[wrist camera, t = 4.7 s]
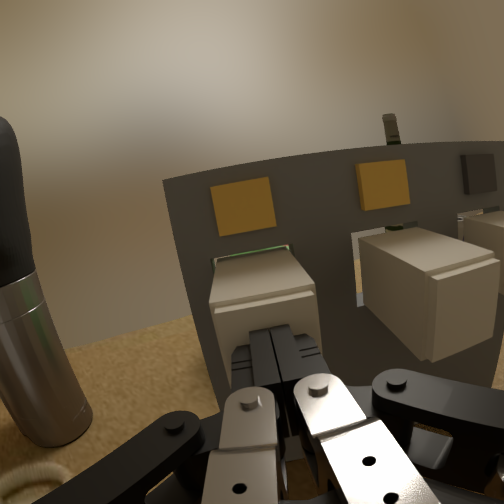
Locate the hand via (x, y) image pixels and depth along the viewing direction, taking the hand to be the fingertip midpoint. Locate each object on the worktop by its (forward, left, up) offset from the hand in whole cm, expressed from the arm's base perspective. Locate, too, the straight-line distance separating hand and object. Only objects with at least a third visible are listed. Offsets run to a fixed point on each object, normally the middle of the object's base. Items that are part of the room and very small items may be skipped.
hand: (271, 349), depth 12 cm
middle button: (+8, +3, -2) cm, 9 cm away
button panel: (+8, +8, -15) cm, 19 cm away
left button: (0, +4, -2) cm, 4 cm away
